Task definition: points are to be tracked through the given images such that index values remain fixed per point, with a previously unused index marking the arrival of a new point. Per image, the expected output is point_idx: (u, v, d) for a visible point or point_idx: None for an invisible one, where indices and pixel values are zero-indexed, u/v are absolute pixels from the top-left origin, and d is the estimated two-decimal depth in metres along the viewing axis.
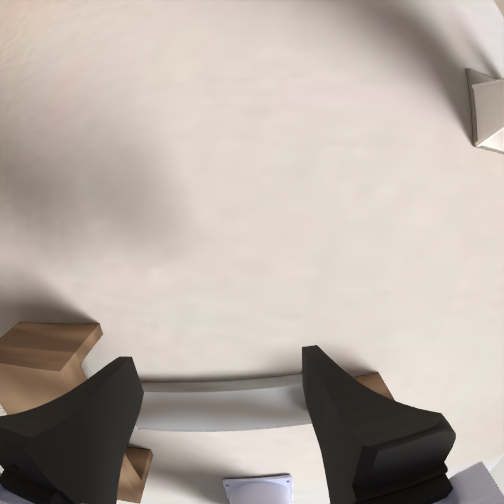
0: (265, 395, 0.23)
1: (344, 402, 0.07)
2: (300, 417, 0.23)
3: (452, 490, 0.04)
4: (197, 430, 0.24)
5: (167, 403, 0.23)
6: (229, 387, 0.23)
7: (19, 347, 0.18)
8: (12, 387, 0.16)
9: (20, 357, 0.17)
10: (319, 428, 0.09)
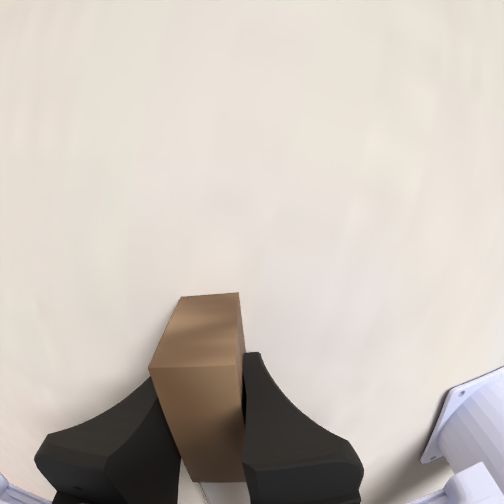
0: None
1: (256, 414, 0.07)
2: None
3: (452, 490, 0.04)
4: None
5: None
6: None
7: None
8: None
9: None
10: None
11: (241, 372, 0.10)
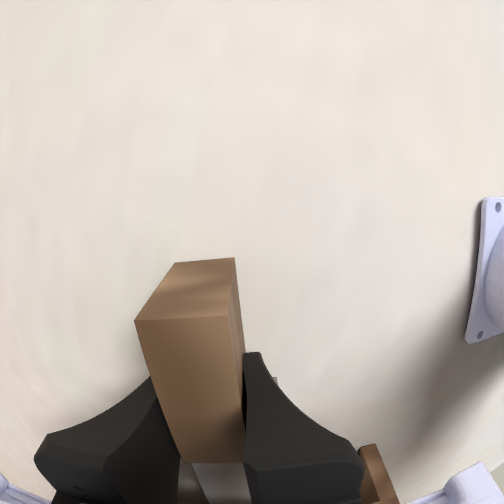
0: None
1: (257, 414, 0.07)
2: None
3: (452, 490, 0.04)
4: None
5: None
6: None
7: None
8: None
9: None
10: None
11: (235, 334, 0.09)
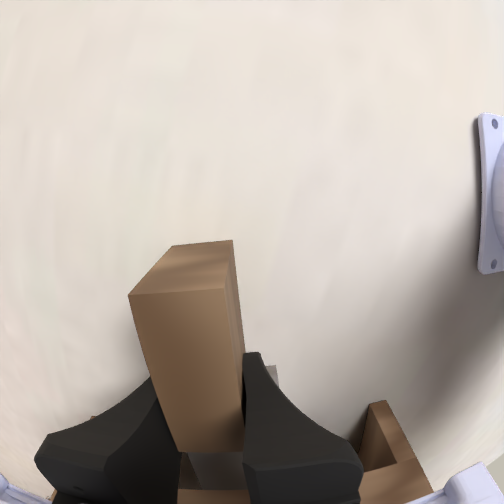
0: None
1: (256, 414, 0.07)
2: None
3: (452, 490, 0.04)
4: None
5: None
6: None
7: None
8: None
9: None
10: None
11: (233, 314, 0.09)
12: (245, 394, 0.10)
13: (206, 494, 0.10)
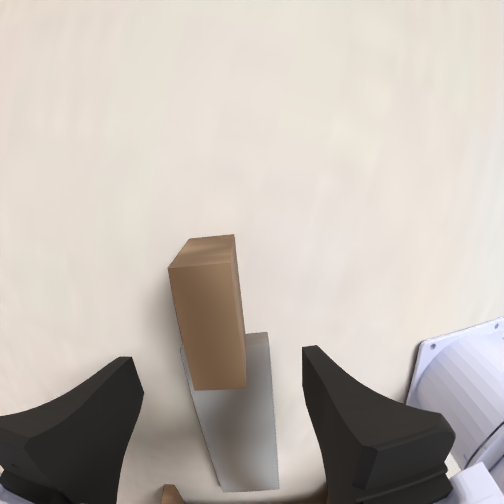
0: (206, 402, 0.17)
1: (344, 402, 0.07)
2: (252, 365, 0.17)
3: (452, 490, 0.04)
4: (274, 454, 0.19)
5: (231, 470, 0.20)
6: None
7: None
8: None
9: None
10: (319, 428, 0.09)
11: (235, 283, 0.13)
12: (243, 347, 0.15)
13: None
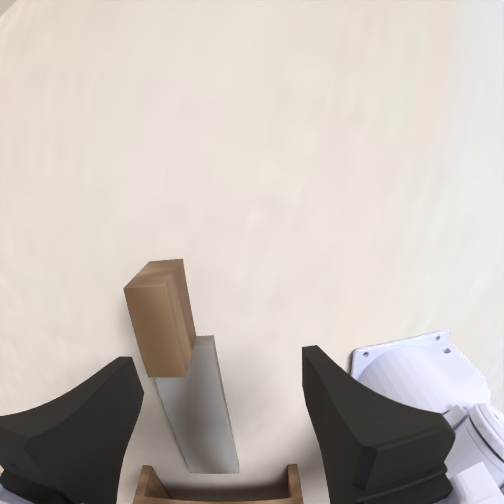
0: (167, 390, 0.22)
1: (344, 402, 0.07)
2: (200, 361, 0.21)
3: (452, 490, 0.04)
4: (229, 440, 0.23)
5: (194, 452, 0.24)
6: None
7: None
8: None
9: None
10: (319, 428, 0.09)
11: (175, 299, 0.17)
12: (187, 346, 0.19)
13: (204, 503, 0.22)
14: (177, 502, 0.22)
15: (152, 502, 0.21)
